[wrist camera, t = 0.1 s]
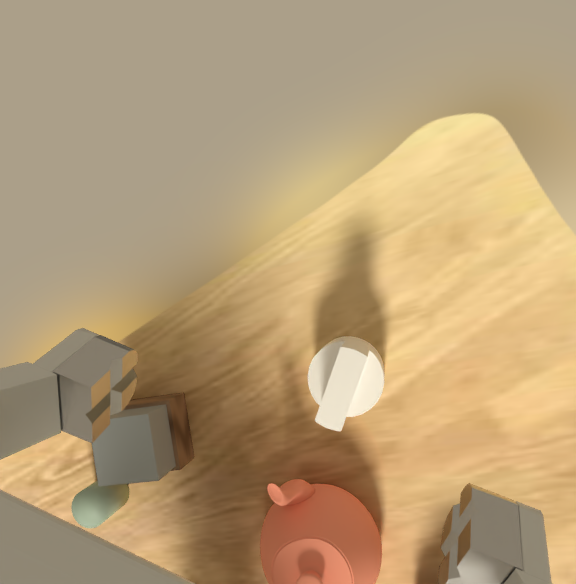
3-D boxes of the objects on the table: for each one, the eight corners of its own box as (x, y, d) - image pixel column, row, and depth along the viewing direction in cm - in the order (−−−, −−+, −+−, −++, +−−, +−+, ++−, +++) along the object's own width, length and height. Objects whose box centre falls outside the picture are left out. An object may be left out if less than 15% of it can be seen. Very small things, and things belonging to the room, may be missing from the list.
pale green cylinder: (131, 507, 72) (108, 526, 66) (100, 509, 73) (74, 529, 67) (126, 471, 72) (103, 488, 66) (94, 475, 73) (68, 491, 67)
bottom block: (194, 456, 70) (180, 469, 65) (135, 463, 72) (117, 476, 67) (184, 392, 70) (169, 400, 65) (125, 400, 72) (106, 408, 67)
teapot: (240, 465, 69) (209, 503, 57) (345, 431, 66) (335, 464, 54) (297, 623, 67) (278, 696, 55) (406, 595, 65) (411, 666, 53)
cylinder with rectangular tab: (370, 415, 65) (367, 444, 53) (305, 390, 67) (287, 412, 55) (394, 350, 65) (395, 364, 53) (327, 326, 66) (314, 335, 54)
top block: (175, 465, 65) (158, 480, 60) (119, 471, 67) (98, 486, 62) (166, 404, 66) (148, 414, 61) (110, 411, 67) (88, 421, 62)
